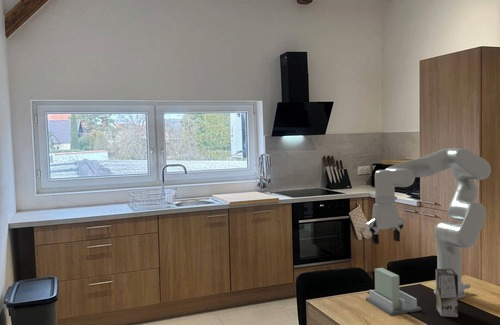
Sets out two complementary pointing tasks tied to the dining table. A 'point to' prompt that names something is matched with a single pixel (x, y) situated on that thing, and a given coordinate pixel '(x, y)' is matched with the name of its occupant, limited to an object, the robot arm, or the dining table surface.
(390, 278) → the upright sage green tile
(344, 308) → the dining table surface
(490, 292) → the dining table surface
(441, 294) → the coffee box
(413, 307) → the dish rack
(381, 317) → the dining table surface
